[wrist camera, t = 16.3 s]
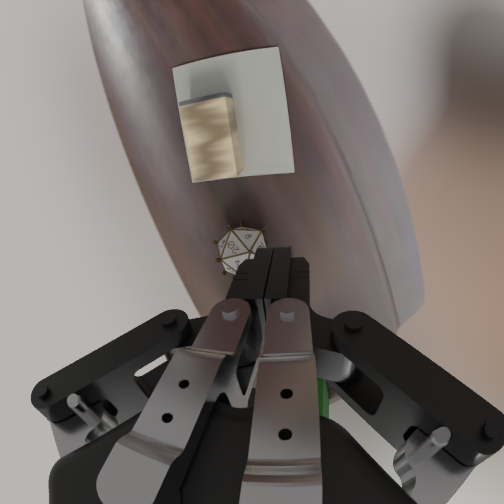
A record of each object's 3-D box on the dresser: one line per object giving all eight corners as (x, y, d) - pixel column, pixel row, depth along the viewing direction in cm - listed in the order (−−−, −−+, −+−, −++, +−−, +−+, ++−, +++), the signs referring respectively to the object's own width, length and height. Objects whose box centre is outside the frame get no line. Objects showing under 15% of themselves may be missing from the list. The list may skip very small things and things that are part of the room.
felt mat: (294, 172, 36) (294, 172, 36) (193, 182, 39) (192, 182, 39) (278, 47, 27) (278, 46, 27) (173, 68, 31) (172, 68, 30)
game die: (240, 230, 46) (190, 245, 40) (269, 204, 40) (213, 216, 33) (265, 277, 45) (216, 300, 38) (298, 257, 38) (246, 281, 32)
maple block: (224, 92, 28) (237, 176, 33) (232, 93, 31) (243, 169, 37) (178, 102, 29) (193, 181, 35) (190, 102, 33) (203, 174, 38)
